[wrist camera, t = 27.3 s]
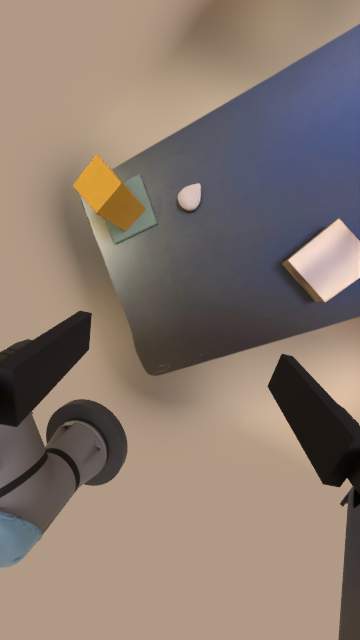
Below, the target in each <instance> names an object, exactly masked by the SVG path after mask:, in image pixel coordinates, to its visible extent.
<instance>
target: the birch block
mask: <svg viewBox="0 0 360 640" xmlns="http://www.w3.org/2000/svg"><path fill="white" fill-rule="evenodd" d="M282 265H283V266H284V267H285V268H286V269H287V270H288V271H289V273H290V274H291V275H292V276H293V277H294V278H295V279H296V281H297V282H298V283H299V284H300V285H301V286H302V287H303V288H304V290H305V291H306V292H307V293H308V294H309V295H310V296H311V298H312V299H313V300H314V301H315V302H327V301H328V300H329V299H331V298H332V297H334V296H335V295H336V294H338V293H339V292H340V291H342V290H343V289H345V288H346V287H347V286H349V285H350V284H352V283H353V282H354V281H356V280H357V279H359V278H360V241H359V240H358V239H357V238H356V237H355V235H354V234H353V233H352V232H351V231H350V230H349V229H348V228H347V227H346V226H345V225H344V223H343V222H342V221H341V220H340V219H337V220H336V221H334V222H333V223H331V224H330V225H328V226H327V227H326V228H324V229H323V230H322V231H321V232H320V233H318V234H317V235H316V236H315V237H313V238H312V239H311V240H310V241H309V242H307V243H306V244H305V245H304V246H302V247H301V248H300V249H299V250H298V251H296V252H295V253H294V254H293V255H291V256H290V257H289V258H288V259H286V260H285V261H284V262H283V263H282Z"/></svg>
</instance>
